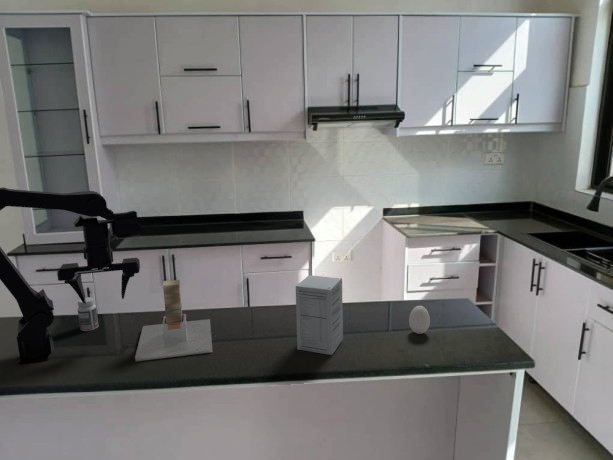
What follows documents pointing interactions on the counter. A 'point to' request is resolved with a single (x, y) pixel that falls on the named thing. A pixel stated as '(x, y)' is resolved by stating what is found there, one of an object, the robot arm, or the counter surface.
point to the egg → (419, 320)
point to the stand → (174, 339)
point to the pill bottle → (87, 314)
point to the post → (172, 301)
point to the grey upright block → (319, 314)
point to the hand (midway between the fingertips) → (104, 300)
